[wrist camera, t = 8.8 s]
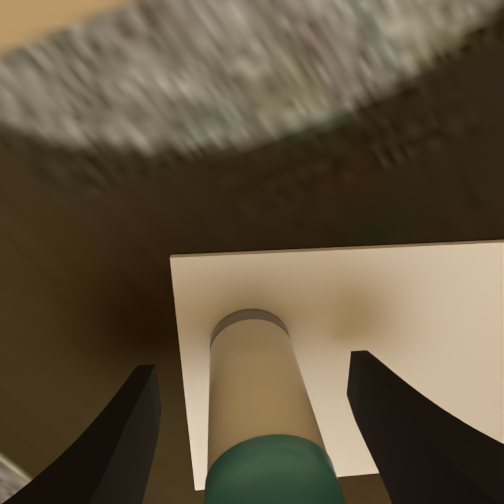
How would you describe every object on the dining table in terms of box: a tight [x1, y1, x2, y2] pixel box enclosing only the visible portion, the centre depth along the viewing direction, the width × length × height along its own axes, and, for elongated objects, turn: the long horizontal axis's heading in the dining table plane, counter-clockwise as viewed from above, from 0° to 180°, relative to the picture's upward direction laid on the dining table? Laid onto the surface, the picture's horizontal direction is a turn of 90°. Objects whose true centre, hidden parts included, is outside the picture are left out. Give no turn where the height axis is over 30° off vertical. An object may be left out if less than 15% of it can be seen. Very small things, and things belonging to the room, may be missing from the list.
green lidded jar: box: [204, 309, 346, 504], centre depth 12 cm, size 4×4×7 cm
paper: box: [170, 240, 504, 490], centre depth 17 cm, size 18×13×1 cm
